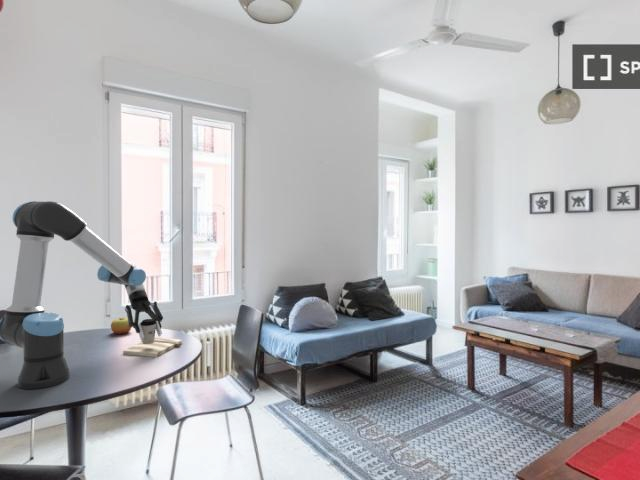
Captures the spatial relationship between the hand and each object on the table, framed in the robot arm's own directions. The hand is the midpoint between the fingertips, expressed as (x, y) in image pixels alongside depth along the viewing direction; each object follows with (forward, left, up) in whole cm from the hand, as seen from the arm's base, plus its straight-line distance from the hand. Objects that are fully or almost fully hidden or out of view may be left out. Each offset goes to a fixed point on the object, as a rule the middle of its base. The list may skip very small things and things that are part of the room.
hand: (151, 336), depth 167 cm
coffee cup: (+2, +3, -4) cm, 5 cm away
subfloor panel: (+6, +3, -7) cm, 10 cm away
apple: (+23, +34, -8) cm, 42 cm away
